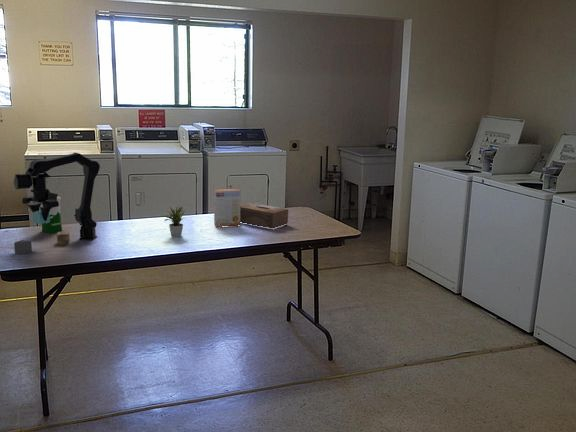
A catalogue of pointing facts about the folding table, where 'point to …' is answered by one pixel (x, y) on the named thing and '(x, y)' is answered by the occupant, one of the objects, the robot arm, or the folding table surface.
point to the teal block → (39, 217)
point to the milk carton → (53, 219)
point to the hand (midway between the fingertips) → (41, 219)
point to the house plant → (175, 222)
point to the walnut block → (63, 238)
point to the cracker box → (226, 207)
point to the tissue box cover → (263, 215)
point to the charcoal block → (23, 247)
